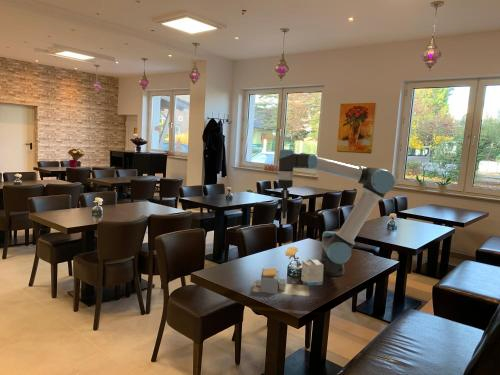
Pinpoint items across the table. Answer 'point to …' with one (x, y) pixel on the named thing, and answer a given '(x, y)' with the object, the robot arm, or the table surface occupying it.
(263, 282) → the hitch block
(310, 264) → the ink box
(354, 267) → the table surface
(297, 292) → the birch board
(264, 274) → the keeper tab
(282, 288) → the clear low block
